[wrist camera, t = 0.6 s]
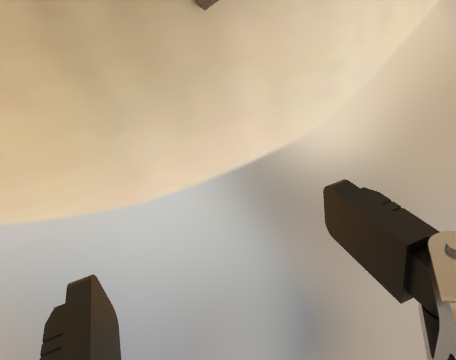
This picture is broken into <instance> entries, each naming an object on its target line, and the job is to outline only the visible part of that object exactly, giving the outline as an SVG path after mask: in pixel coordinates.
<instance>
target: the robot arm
mask: <svg viewBox="0 0 456 360" xmlns="http://www.w3.org/2000/svg"><path fill="white" fill-rule="evenodd" d="M323 193H324V210H325V223H326V227H327V229H328V231H329V233H330V235H331V236H332V237H333V238H334V239H335V240H336V241H337V242H338V243H339V244H340V245H341V246H342V247H343V248H344V249H345V250H346V251H347V252H348V253H349V254H350V255H351V256H352V257H353V258H354V259H355V260H356V261H357V262H358V263H359V264H361V265H362V266H363V267H364V268H365V269H366V270H367V271H368V272H369V273H370V274H371V275H372V276H373V277H374V278H375V279H376V280H377V281H378V282H379V283H380V284H381V285H382V286H383V287H384V288H385V289H386V290H387V291H388V292H389V293H390V294H392V295H393V297H395V298H396V299H397V300H398V301H399V302H400V303H403V302H405V301H408V300H410V299H411V298H415V299H416V300H417V301H418V302H419V314H420V319H421V325H422V330H423V337H424V342H425V348H426V353H427V359H428V360H456V231H445V232H439V231H437V230H436V229H435V228H433V227H431V226H430V225H429V224H427V223H425V222H424V221H422V220H421V219H419V218H418V217H416V216H415V215H413V214H412V213H410V212H409V211H407V210H406V209H404V208H401V207H400V206H399V205H398V204H396V203H395V202H391V200H390V199H389V198H387V197H386V196H384V195H382V194H381V193H379V192H377V191H374V190H370V189H367V188H361V189H360V188H358V187H357V186H356V185H354V184H353V183H351V182H350V181H348V180H341V181H339V182H337V183H334V184H331V185H328V186H326V187H325V188H324V191H323ZM40 360H121V351H120V338H119V326H118V320H117V316H116V313H115V310H114V308H113V306H112V304H111V302H110V300H109V299H108V297H107V295H106V293H105V291H104V289H103V288H102V286H101V284H100V282H99V281H98V279H97V277H96V276H95V275H90V276H88V277H85V278H83V279H80V280H77V281H75V282H72V283H69V284H68V286H67V292H66V302H65V304H63V305H60V306H58V307H55V308H54V310H53V312H52V313H51V315H50V317H49V319H48V320H47V322H46V324H45V328H44V335H43V344H42V348H41V358H40Z"/></svg>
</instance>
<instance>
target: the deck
mask: <svg viewBox="0 0 456 360" xmlns="http://www.w3.org/2000/svg"><path fill="white" fill-rule="evenodd" d="M195 1H196V3H197V5H198V6H200V7H201V8H202V9H204V10H206V9H208V8H209V7H210V6H212V5H213V4H214V3H216V2H217V1H218V0H195Z"/></svg>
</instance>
